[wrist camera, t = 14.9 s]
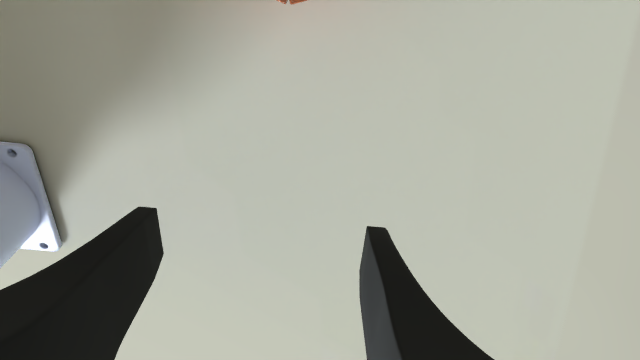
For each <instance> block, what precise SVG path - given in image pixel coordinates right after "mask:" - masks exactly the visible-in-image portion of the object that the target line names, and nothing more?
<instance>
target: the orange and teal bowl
mask: <svg viewBox="0 0 640 360" xmlns="http://www.w3.org/2000/svg"><path fill="white" fill-rule="evenodd" d="M277 1H279V2H282V3H284V4H286V3H287V1H288V0H277ZM289 1H290V4H296V3H299V2H303V1H307V0H289Z"/></svg>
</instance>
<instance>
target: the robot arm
mask: <svg viewBox="0 0 640 360" xmlns="http://www.w3.org/2000/svg"><path fill="white" fill-rule="evenodd" d="M12 150H14V151H15V152H16V153H14V152H13V151H12ZM45 243H46V244H45ZM61 246H62V242H61V239H60V236H59V233H58V230H57V227H56V224H55V220H54V217H53V214H52V211H51V208H50V205H49V201H48V198H47V195H46V192H45V189H44V186H43V182H42V179H41V176H40V173H39V170H38V167H37V164H36V160H35V157H34V154H33V151H32V149H31V148H30V147H29V146H27V145H26V144H22V143H11V142H0V268H1V267H2V266H3V265H4V264H5V263H6V262H7V261H8V260H9V259H10V258H11V257H12V256H13V255H14V253H15V252H16V251H17V250H18V249H30V250H42V251H58V250H59V249H60V248H61ZM163 254H164V253H163V247H162V241H161V234H160V228H159V221H158V215H157V209H156V208H149V207H137V208H136V209H134V210H133V211H131V212H130V213H129V214H127V215H126V216H124V217H123V218H122V219H120V220H119V221H118V222H116V223H115V224H113V225H112V226H111V227H109V228H108V229H106V230H105V231H104V232H102V233H101V234H99V235H98V236H96V237H95V238H94V239H92V240H91V241H89V242H88V243H86V244H85V245H83V246H81V247H80V248H78V249H77V250H75V251H74V252H72V253H70V254H69V255H67V256H66V257H64V258H63V259H61V260H59V261H57V262H56V263H54V264H52V265H50V266H49V267H47V268H45V269H43V270H41V271H39V272H37V273H36V274H34V275H32V276H30V277H28V278H26V279H23V280H21V281H19V282H17V283H15V284H13V285H10V286H8V287H6V288H4V289H2V290H0V360H114V359H115V357H116V354H117V352H118V349H119V347H120V345H121V343H122V340H123V338H124V336H125V334H126V332H127V330H128V329H129V327H130V325H131V323H132V321H133V319H134V317H135V315H136V314H137V312H138V310H139V308H140V306H141V304H142V302H143V300H144V298H145V297H146V295H147V293H148V291H149V289H150V287H151V285H152V283H153V281H154V279H155V276H156V274H157V271H158V268H159V265H160V263H161V260H162V257H163ZM360 305H361V313H362V321H363V330H364V338H365V346H366V354H367V360H494V359H493V358H491V357H490V356H488V355H487V354H486V353H485V352H483V351H482V350H481V349H480V348H479V347H477V346H476V345H475V344H474V343H473V342H471V341H470V340H469V339H468V338H467V337H466V336H465V335H464V334H463V333H462V332H461V331H460V330H459V329H457V328H456V327H455V326H454V325H453V324H452V323H451V322H450V321H449V320H448V319H447V318H446V317H445V315H444V314H443V313H442V312H441V311H440V310H439V309H438V308H437V306H436V305H435V304H434V303H433V302H432V301H431V299H430V298H429V297H428V296H427V294H426V293H425V292H424V290H423V289H422V288H421V286H420V285H419V283H418V282H417V281H416V279H415V278H414V276H413V275H412V273H411V272H410V270H409V269H408V267H407V265H406V264H405V262H404V261H403V259H402V257H401V256H400V254H399V252H398V250H397V249H396V247H395V245H394V243H393V241H392V239H391V237H390V235H389V233H388V231H387V230H386V228H382V227H371V226H367V229H366V235H365V241H364V247H363V253H362V259H361V265H360Z"/></svg>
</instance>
